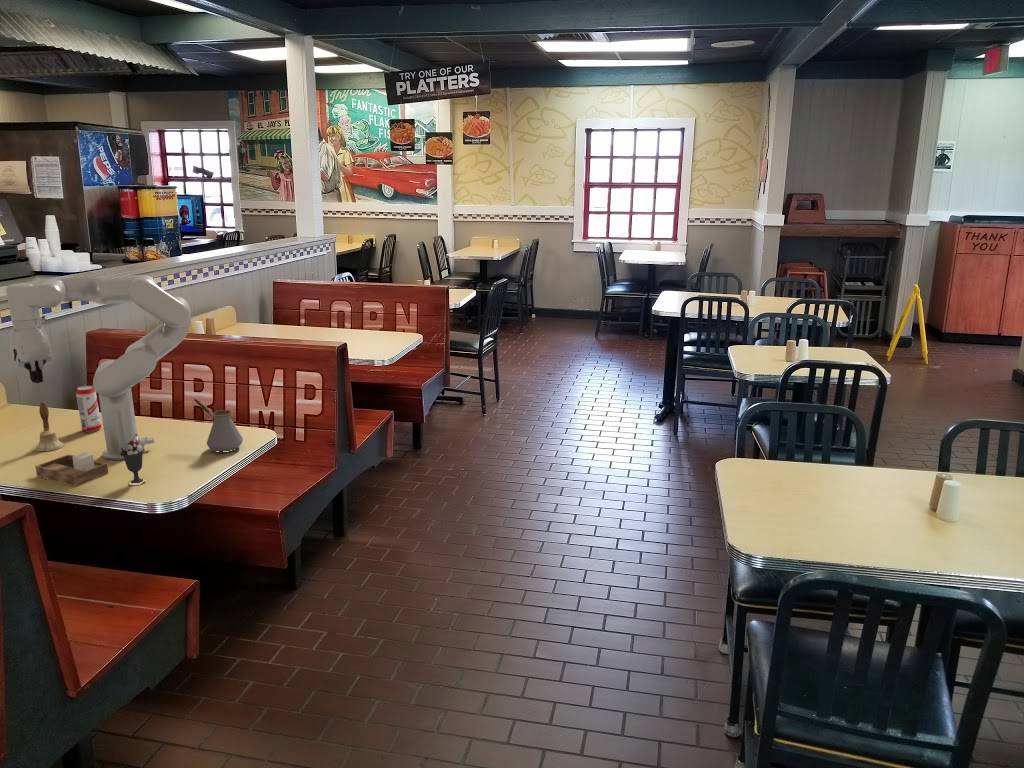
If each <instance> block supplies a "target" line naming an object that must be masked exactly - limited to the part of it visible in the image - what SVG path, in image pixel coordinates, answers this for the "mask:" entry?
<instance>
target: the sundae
mask: <svg viewBox="0 0 1024 768" xmlns="http://www.w3.org/2000/svg"><path fill="white" fill-rule="evenodd" d="M137 435H138V433H137V434H135V436H137ZM134 438H135V437H134ZM134 438H133V439H134ZM121 450H122V451H121V452H120V455H121V456H123V457H124V459H123V460H124V462H125V466H126V468H127V470H128V471H130V472H131V473H133V479H132V480H130V481H131V483H140V482H142V481H143V479H144V478H140V476H139V472H140V471H141V469H142V468H143V457H144V456H143V454H144V453H145V451H146V450H144V449H143V448H142V446H140V445H139V442H138V441H137V440H136V441H135V442H134V441H133V440H130V442H129V443H127V444H126V446H125V449H124V450H123V449H122V448H121Z"/></svg>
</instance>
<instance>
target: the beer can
mask: <svg viewBox="0 0 1024 768" xmlns="http://www.w3.org/2000/svg"><path fill="white" fill-rule="evenodd" d="M75 395H76V401H77V408H78V409H77V410H78V413H79V420H80V426H81V431H83V432H84V431H85V433H95V432H98V431H100V430H101V428H102V422H101V421H102V420H101V416H100V415H101V414H100V409H99V403H98V398H97V397H98V396H97V392H96V391H95V389H94V386H93V385H82V386H79V387H77V388H76V393H75ZM99 429H100V430H99ZM97 430H98V431H97ZM94 431H95V432H94Z"/></svg>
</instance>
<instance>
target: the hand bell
mask: <svg viewBox="0 0 1024 768" xmlns="http://www.w3.org/2000/svg"><path fill="white" fill-rule="evenodd" d="M39 404H40V405H39V409H38V410H39V415H40V418H41V420H42V425H43V431H41V432H40V433H39V441H38V444H37V446H36V447H35V451H36V450H37V452H40V451H44V452H52V451H56V450H59V449H62V448H63V447H64V446H65V444H64V443H63V442H62V441H60V440H59V439H58V437H57V434H56V432H55V431H54V430H52V429H50V424H49V414H50V413H49V408H48V406H47V404H46V402H45V401H42V402H40V403H39Z"/></svg>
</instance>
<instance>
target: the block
mask: <svg viewBox="0 0 1024 768" xmlns="http://www.w3.org/2000/svg"><path fill="white" fill-rule="evenodd" d="M72 458H73V464H74V469H77V470H80V471H85V470H87V469H90V468H93V467H95V466H94V461H95V460H94V455H93V454H90V453H88V452H82V453H79V454H76V455H74V456H73V457H72Z"/></svg>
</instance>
